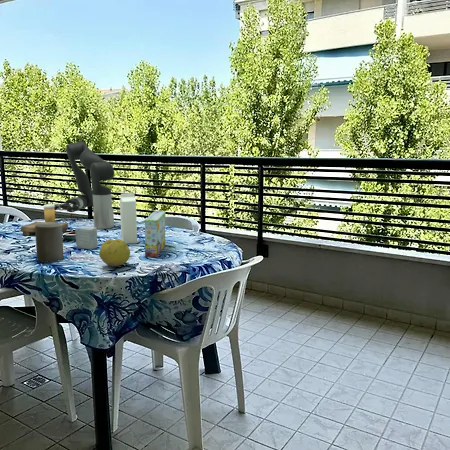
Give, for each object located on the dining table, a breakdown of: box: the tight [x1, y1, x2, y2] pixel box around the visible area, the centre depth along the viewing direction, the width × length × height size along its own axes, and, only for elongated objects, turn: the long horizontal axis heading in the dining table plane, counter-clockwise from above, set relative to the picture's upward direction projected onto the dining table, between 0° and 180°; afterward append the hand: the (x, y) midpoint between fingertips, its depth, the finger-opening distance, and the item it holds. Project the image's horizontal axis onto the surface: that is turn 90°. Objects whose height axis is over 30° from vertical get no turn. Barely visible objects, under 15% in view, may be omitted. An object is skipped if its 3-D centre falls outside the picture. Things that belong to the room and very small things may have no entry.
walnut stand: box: [20, 221, 69, 236], centre depth 219 cm, size 17×13×4 cm
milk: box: [119, 192, 138, 245], centre depth 201 cm, size 6×6×22 cm
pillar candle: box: [34, 221, 64, 263], centre depth 174 cm, size 10×10×15 cm
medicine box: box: [74, 226, 99, 250], centre depth 192 cm, size 8×4×9 cm, turn 71°
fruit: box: [98, 238, 131, 267], centre depth 166 cm, size 11×12×10 cm
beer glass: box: [43, 203, 56, 223], centre depth 233 cm, size 5×5×12 cm
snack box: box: [144, 210, 166, 258], centre depth 188 cm, size 21×6×15 cm, turn 179°
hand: (60, 209), depth 243 cm, fingers open, 8 cm apart
